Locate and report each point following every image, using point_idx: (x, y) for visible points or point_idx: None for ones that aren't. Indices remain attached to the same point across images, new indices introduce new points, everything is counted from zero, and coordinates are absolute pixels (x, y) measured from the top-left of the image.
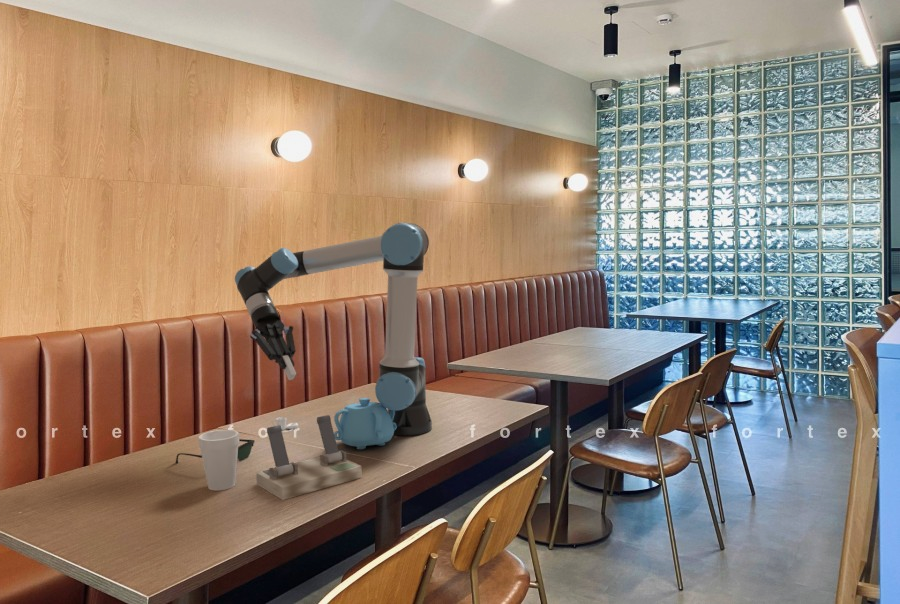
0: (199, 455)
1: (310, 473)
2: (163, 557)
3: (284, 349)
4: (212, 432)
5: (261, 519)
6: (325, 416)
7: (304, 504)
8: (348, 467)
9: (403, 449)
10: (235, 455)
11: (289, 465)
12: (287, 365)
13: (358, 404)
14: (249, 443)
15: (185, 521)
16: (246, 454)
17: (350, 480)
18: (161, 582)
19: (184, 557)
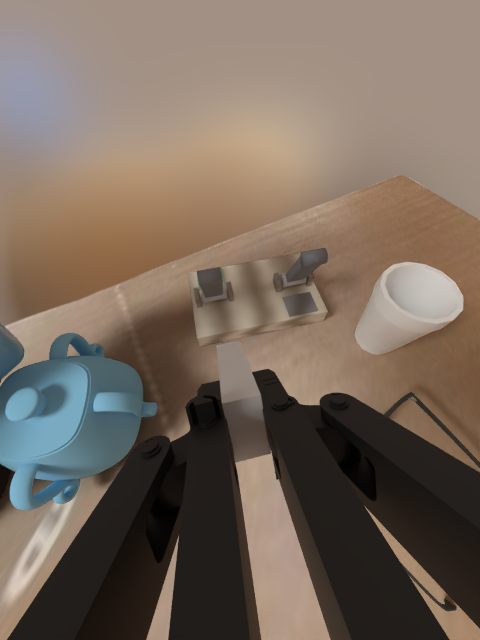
0: (445, 426)
1: (256, 277)
2: (406, 207)
3: (230, 459)
4: (440, 318)
5: (324, 234)
6: (205, 270)
7: (277, 246)
8: None
9: None
10: (370, 297)
11: (285, 273)
12: (246, 361)
13: (35, 435)
14: None
15: (402, 257)
16: None
17: None
18: (398, 182)
19: (388, 202)
